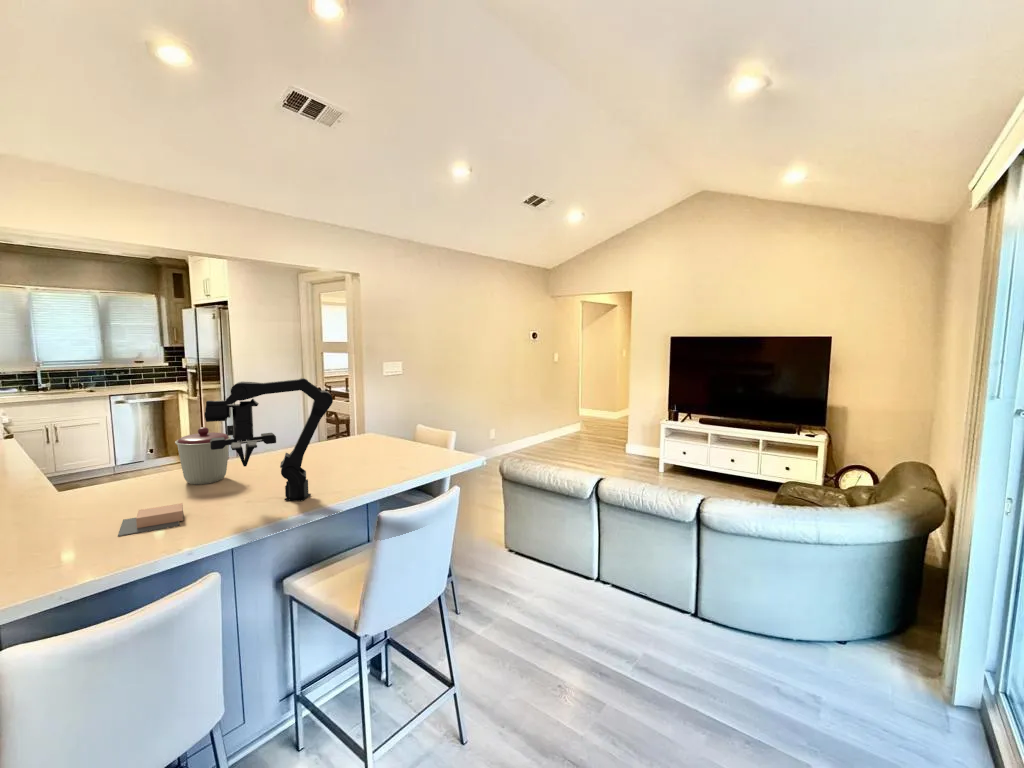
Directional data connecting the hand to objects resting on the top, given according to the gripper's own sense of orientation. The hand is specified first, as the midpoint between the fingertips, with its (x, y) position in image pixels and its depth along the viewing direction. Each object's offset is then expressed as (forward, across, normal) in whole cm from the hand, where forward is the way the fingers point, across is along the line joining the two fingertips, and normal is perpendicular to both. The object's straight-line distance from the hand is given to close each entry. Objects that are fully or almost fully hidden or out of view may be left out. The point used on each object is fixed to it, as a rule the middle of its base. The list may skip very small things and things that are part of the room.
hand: (244, 466), depth 157 cm
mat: (+13, +26, +3) cm, 29 cm away
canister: (+13, +10, -38) cm, 41 cm away
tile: (+11, +18, +3) cm, 21 cm away
